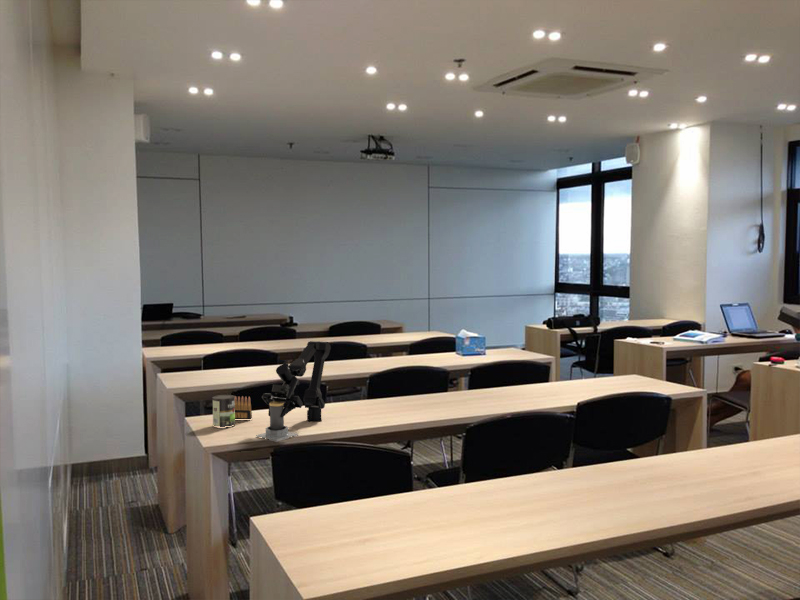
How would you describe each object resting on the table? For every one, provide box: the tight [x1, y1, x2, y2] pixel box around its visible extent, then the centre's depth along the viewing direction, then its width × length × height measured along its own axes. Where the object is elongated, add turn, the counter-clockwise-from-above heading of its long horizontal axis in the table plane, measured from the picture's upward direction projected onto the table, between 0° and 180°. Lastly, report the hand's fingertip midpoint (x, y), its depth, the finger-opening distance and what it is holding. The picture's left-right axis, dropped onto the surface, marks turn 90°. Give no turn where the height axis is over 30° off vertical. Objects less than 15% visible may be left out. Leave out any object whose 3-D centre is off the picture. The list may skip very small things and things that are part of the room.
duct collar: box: [255, 425, 299, 443], centre depth 297 cm, size 13×13×4 cm
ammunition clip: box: [234, 395, 253, 419], centre depth 328 cm, size 11×2×12 cm, turn 81°
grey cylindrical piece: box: [268, 401, 285, 430], centre depth 297 cm, size 6×6×12 cm
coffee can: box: [211, 394, 236, 427], centre depth 316 cm, size 10×10×14 cm
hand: (275, 416), depth 295 cm, fingers closed on grey cylindrical piece, 6 cm apart
